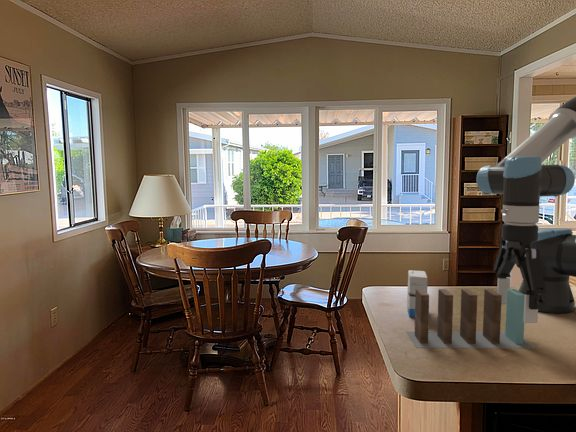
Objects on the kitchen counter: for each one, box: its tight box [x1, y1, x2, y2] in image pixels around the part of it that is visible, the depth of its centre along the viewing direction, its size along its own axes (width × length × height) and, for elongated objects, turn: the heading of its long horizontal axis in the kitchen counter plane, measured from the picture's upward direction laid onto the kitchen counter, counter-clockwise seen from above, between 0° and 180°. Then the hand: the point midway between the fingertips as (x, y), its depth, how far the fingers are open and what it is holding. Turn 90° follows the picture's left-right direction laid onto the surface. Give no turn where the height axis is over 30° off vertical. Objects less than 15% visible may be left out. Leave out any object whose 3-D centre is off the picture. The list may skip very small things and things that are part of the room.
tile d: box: [436, 288, 454, 344], centre depth 105 cm, size 2×5×12 cm, turn 178°
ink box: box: [406, 269, 428, 318], centre depth 125 cm, size 8×5×12 cm, turn 168°
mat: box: [405, 331, 536, 349], centre depth 106 cm, size 27×10×1 cm, turn 88°
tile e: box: [414, 289, 430, 344], centre depth 106 cm, size 2×5×12 cm, turn 178°
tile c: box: [459, 288, 478, 344], centre depth 105 cm, size 2×5×12 cm, turn 178°
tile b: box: [482, 288, 502, 344], centre depth 105 cm, size 2×5×12 cm, turn 178°
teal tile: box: [504, 288, 525, 344], centre depth 105 cm, size 2×5×12 cm, turn 178°
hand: (515, 312), depth 105 cm, fingers open, 13 cm apart
